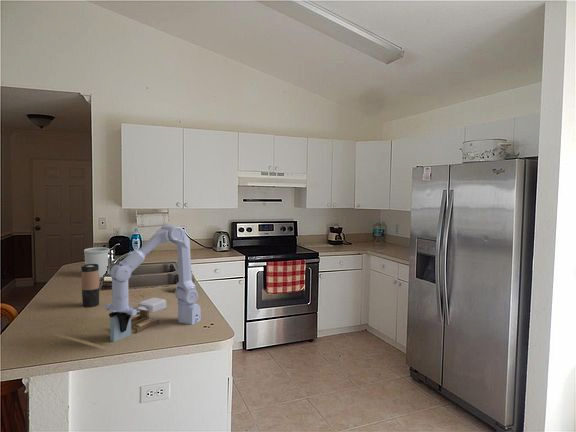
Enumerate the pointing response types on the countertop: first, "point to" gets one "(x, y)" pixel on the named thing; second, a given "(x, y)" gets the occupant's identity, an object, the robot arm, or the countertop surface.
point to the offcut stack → (142, 323)
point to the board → (118, 329)
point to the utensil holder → (97, 258)
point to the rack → (143, 316)
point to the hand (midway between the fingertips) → (121, 330)
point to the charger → (152, 305)
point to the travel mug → (90, 285)
